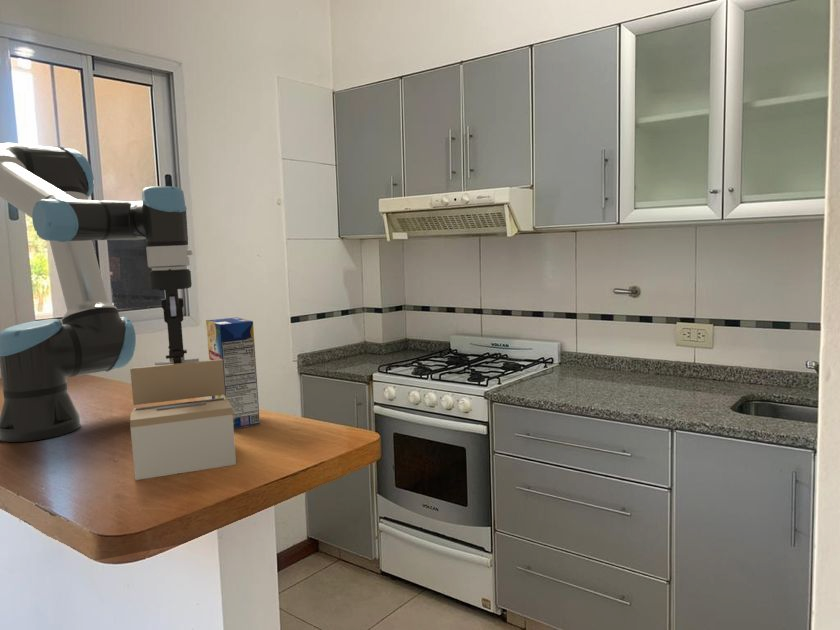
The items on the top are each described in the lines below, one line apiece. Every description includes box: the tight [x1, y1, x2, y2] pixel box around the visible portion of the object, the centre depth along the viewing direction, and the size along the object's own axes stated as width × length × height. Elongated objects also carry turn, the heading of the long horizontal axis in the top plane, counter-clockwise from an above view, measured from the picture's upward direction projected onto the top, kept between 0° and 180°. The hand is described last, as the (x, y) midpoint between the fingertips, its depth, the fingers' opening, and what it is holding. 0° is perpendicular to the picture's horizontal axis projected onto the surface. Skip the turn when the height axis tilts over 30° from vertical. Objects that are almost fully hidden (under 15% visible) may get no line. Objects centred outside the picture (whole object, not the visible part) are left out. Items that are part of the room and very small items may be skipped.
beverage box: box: [205, 316, 261, 430], centre depth 138 cm, size 7×11×22 cm, turn 33°
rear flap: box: [130, 358, 225, 406], centre depth 123 cm, size 7×16×8 cm
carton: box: [129, 398, 237, 481], centre depth 114 cm, size 14×16×10 cm
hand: (179, 388), depth 126 cm, fingers open, 2 cm apart
